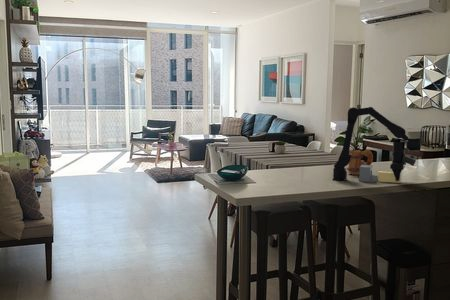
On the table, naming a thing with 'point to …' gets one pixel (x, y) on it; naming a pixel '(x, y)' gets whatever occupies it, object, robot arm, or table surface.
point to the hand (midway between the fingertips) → (397, 180)
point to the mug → (358, 160)
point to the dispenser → (367, 174)
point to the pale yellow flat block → (387, 177)
